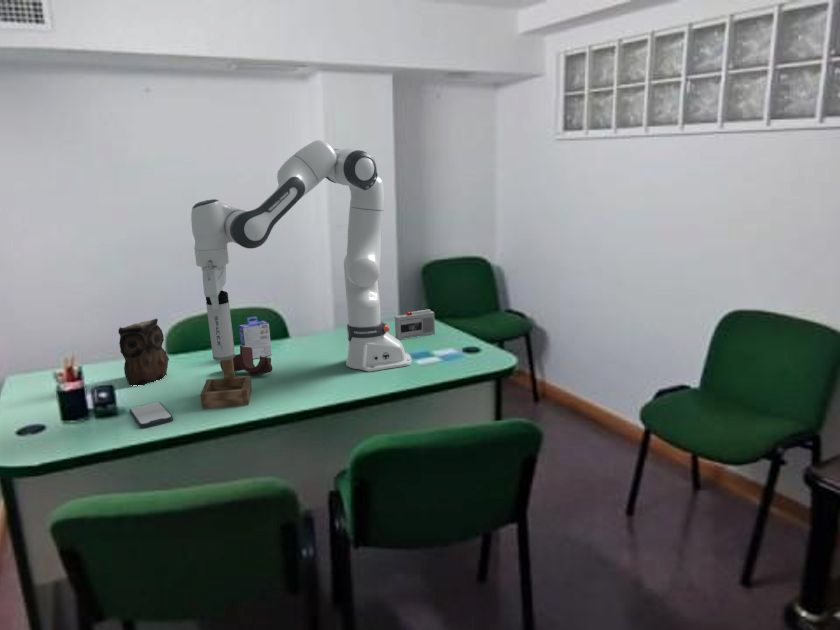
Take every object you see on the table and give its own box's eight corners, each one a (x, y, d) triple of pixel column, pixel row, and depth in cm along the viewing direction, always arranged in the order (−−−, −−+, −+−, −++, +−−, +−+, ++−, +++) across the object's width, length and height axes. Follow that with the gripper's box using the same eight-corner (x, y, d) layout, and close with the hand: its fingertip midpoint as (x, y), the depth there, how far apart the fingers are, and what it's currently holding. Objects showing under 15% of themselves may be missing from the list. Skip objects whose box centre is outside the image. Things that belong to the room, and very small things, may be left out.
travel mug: (225, 353, 191) (217, 288, 186) (239, 356, 187) (232, 290, 182) (207, 358, 186) (199, 292, 181) (222, 362, 182) (214, 294, 177)
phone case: (128, 413, 183) (140, 430, 170) (127, 408, 183) (139, 425, 170) (160, 405, 188) (174, 422, 175) (159, 400, 187) (173, 416, 175)
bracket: (266, 371, 205) (263, 340, 207) (221, 379, 209) (218, 349, 211) (276, 372, 211) (273, 342, 212) (231, 380, 215) (229, 351, 217)
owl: (172, 373, 214) (164, 316, 209) (158, 386, 202) (150, 326, 197) (134, 375, 214) (125, 317, 209) (118, 388, 202) (108, 327, 197)
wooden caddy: (252, 385, 200) (248, 349, 197) (248, 404, 185) (244, 365, 182) (209, 389, 198) (205, 353, 195) (202, 409, 182) (197, 369, 180)
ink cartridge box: (267, 351, 235) (263, 314, 231) (272, 355, 230) (269, 316, 227) (241, 357, 229) (237, 318, 226) (246, 360, 225) (242, 321, 221)
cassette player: (398, 340, 244) (397, 315, 242) (395, 338, 247) (394, 313, 244) (434, 334, 251) (434, 309, 248) (431, 332, 253) (431, 308, 250)
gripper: (219, 263, 170) (225, 313, 173) (227, 252, 189) (232, 297, 193) (194, 264, 169) (201, 315, 172) (205, 253, 188) (210, 299, 192)
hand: (217, 305), depth 183 cm, fingers closed on travel mug, 6 cm apart
